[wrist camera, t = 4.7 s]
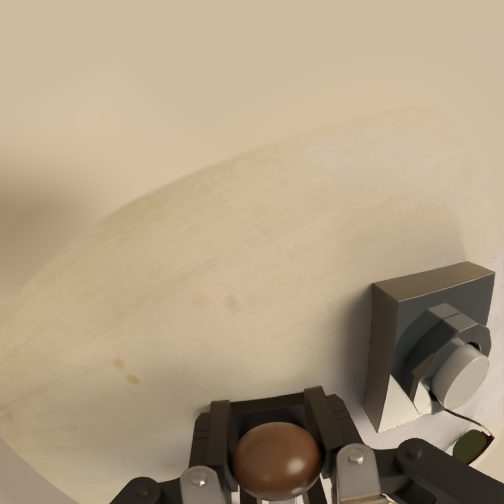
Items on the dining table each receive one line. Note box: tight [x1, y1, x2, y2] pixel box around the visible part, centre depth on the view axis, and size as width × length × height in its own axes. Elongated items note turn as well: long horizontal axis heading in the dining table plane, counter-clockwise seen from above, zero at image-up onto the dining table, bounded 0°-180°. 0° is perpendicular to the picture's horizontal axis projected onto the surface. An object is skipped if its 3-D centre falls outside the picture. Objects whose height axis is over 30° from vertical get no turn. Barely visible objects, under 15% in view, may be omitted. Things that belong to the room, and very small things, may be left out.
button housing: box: [363, 261, 495, 433], centre depth 15 cm, size 11×9×5 cm
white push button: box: [431, 344, 489, 410], centre depth 12 cm, size 4×4×2 cm
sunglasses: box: [388, 409, 495, 504], centre depth 20 cm, size 14×15×5 cm
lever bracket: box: [210, 392, 327, 504], centre depth 13 cm, size 10×8×12 cm
